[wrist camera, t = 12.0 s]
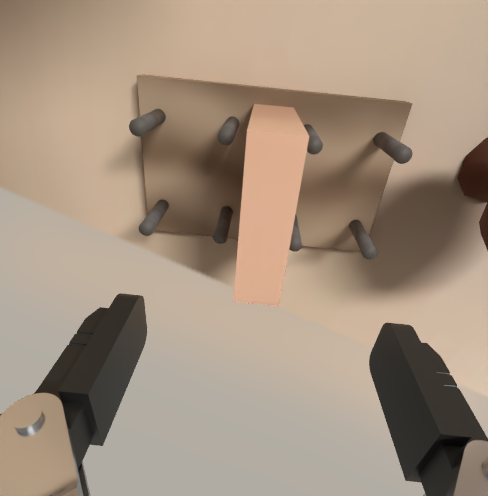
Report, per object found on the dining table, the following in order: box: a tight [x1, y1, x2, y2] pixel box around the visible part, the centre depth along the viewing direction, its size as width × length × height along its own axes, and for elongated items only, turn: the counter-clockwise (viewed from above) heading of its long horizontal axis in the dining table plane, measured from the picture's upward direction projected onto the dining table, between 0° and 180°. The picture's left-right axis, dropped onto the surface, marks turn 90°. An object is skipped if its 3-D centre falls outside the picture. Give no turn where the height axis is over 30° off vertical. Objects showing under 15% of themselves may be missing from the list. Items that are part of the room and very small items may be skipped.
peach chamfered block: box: [233, 104, 309, 306], centre depth 21 cm, size 10×3×10 cm, turn 175°
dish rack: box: [129, 75, 412, 259], centre depth 24 cm, size 12×19×6 cm, turn 85°
